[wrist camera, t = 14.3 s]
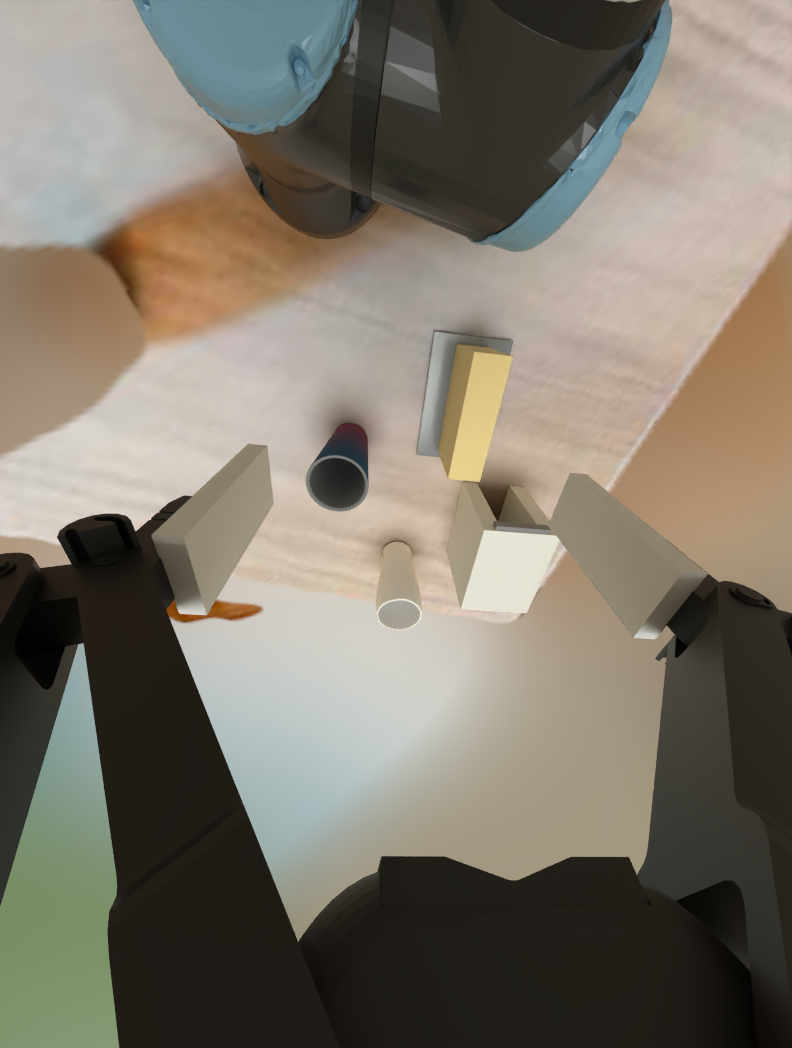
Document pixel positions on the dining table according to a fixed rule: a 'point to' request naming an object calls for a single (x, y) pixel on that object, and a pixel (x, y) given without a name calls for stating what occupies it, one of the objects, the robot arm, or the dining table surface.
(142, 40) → the dining table surface
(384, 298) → the dining table surface
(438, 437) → the slate pad
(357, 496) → the cup
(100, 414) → the dining table surface
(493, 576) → the box
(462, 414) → the yellow rectangular block
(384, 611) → the drinking glass
